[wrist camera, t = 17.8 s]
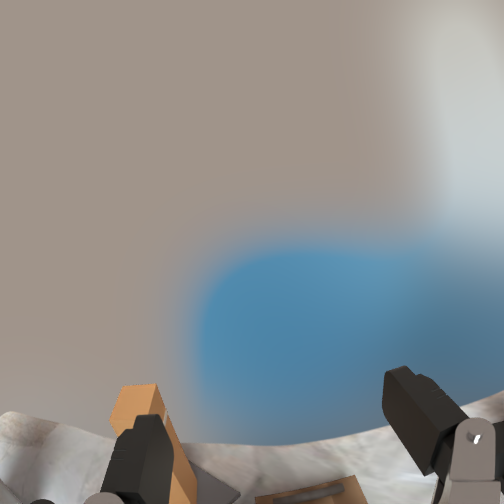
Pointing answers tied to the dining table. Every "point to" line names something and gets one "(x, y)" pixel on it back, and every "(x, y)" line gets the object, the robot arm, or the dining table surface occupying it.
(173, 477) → the striped orange pillar
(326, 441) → the dining table surface
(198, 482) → the pad
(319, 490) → the brown socket base
